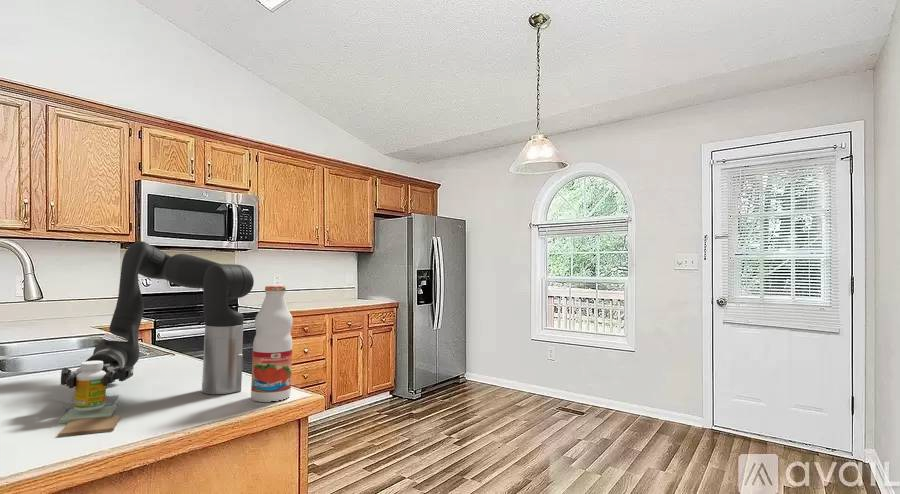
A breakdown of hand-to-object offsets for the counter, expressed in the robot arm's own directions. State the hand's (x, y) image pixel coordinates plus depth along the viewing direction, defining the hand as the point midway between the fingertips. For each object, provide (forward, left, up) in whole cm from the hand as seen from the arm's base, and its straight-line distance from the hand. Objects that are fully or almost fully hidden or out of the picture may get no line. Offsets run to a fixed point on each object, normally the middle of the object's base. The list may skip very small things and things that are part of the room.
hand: (88, 381), depth 102 cm
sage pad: (0, -2, -8) cm, 8 cm away
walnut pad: (-2, +7, -8) cm, 11 cm away
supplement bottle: (0, -3, -6) cm, 7 cm away
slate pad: (+1, -12, -8) cm, 14 cm away
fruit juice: (-37, -3, -8) cm, 38 cm away
